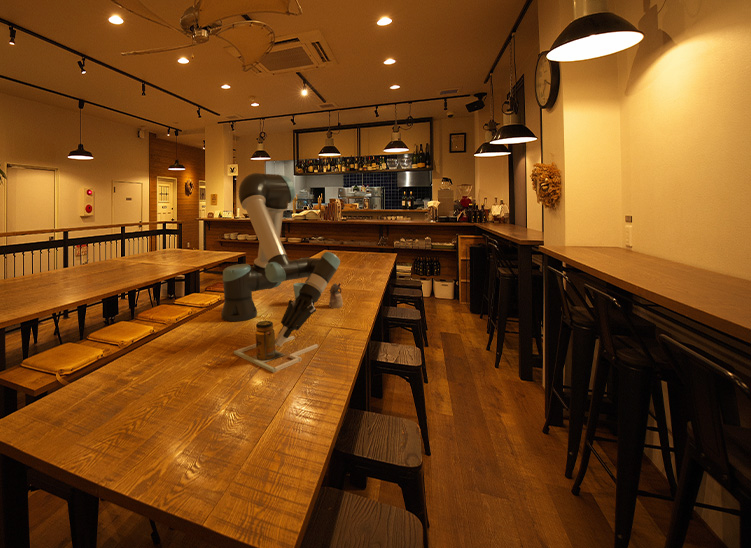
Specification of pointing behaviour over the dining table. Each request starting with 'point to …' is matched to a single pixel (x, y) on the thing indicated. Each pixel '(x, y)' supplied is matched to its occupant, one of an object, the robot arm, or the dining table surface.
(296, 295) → the cup
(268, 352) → the condiment
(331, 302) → the figurine
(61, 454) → the dining table surface
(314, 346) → the t outline
